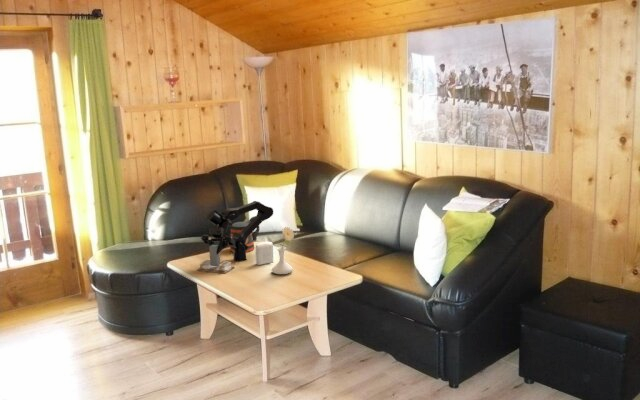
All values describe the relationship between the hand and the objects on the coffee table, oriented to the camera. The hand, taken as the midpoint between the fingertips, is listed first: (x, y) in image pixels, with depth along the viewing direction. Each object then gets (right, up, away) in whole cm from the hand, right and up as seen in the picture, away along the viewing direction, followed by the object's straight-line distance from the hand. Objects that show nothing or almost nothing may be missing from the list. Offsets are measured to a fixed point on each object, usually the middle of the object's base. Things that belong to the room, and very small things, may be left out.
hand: (213, 253), depth 325 cm
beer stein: (+12, -1, +41) cm, 43 cm away
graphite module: (+1, -6, +3) cm, 7 cm away
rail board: (+1, -9, +3) cm, 10 cm away
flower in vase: (+39, -10, -5) cm, 40 cm away
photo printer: (+27, -7, +12) cm, 31 cm away
